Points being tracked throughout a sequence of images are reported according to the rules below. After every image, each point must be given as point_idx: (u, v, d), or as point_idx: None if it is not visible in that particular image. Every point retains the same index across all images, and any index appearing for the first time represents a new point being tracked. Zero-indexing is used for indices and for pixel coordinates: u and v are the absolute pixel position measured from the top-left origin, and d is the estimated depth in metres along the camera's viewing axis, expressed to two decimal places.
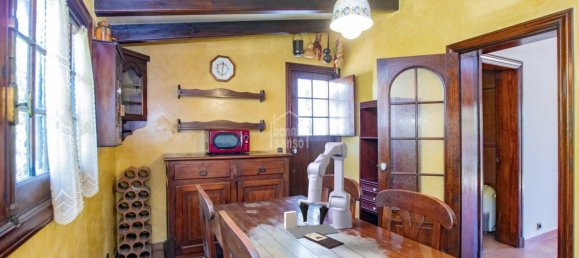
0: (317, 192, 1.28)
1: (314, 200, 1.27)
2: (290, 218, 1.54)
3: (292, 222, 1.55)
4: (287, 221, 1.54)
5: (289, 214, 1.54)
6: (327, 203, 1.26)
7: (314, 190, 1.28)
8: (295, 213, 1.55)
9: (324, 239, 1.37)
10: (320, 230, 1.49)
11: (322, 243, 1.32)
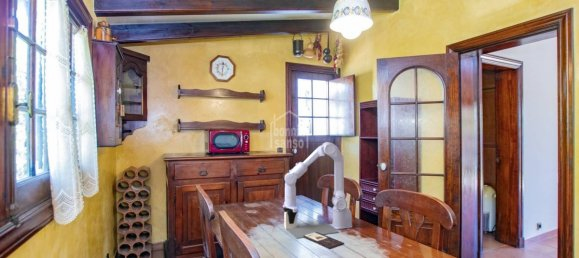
0: (288, 198, 1.53)
1: (286, 205, 1.53)
2: None
3: None
4: (287, 221, 1.54)
5: None
6: (293, 208, 1.49)
7: (286, 196, 1.53)
8: None
9: (324, 239, 1.37)
10: (320, 230, 1.49)
11: (322, 243, 1.32)
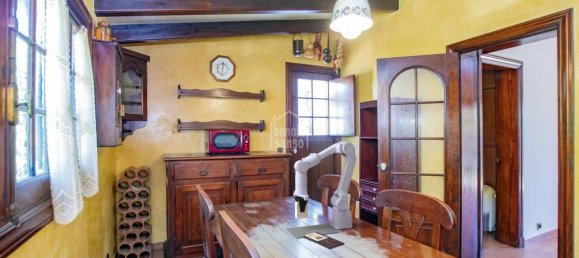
0: (299, 186, 1.49)
1: (297, 193, 1.50)
2: None
3: (303, 212, 1.51)
4: (298, 211, 1.50)
5: None
6: (304, 196, 1.45)
7: (296, 184, 1.50)
8: None
9: (324, 239, 1.37)
10: (320, 230, 1.49)
11: (322, 243, 1.32)
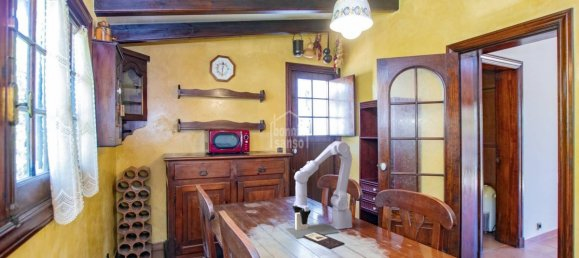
0: (299, 197, 1.49)
1: (297, 203, 1.50)
2: None
3: None
4: (298, 222, 1.50)
5: (300, 215, 1.51)
6: (304, 207, 1.45)
7: (297, 195, 1.50)
8: None
9: (324, 239, 1.37)
10: (320, 230, 1.49)
11: (323, 243, 1.32)
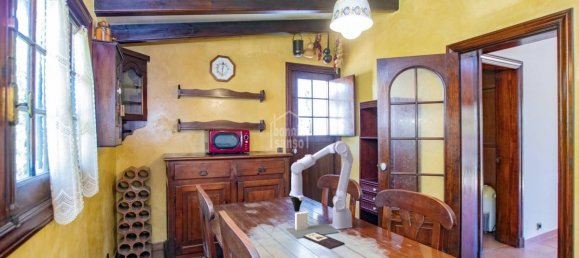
0: (295, 187, 1.55)
1: (293, 193, 1.56)
2: (301, 219, 1.51)
3: (303, 223, 1.51)
4: (298, 222, 1.50)
5: (300, 215, 1.51)
6: (299, 197, 1.51)
7: (292, 185, 1.56)
8: (306, 214, 1.52)
9: (324, 239, 1.37)
10: (320, 230, 1.49)
11: (323, 243, 1.32)
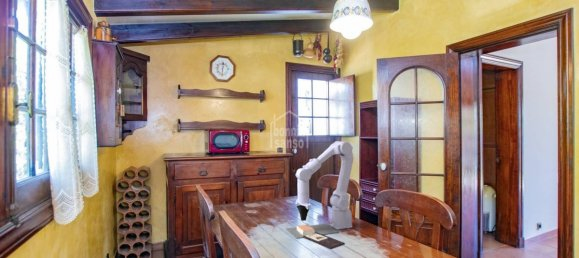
0: (301, 195, 1.47)
1: (299, 201, 1.47)
2: None
3: None
4: None
5: None
6: (306, 205, 1.43)
7: (299, 193, 1.48)
8: None
9: (324, 239, 1.37)
10: (320, 230, 1.49)
11: (323, 243, 1.32)
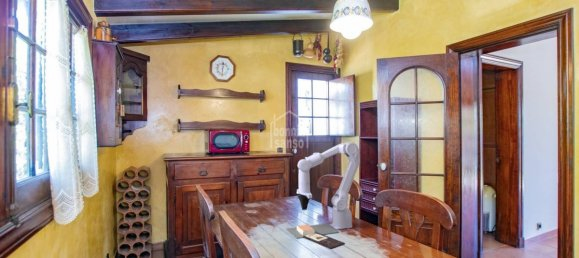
0: (302, 185, 1.52)
1: (300, 191, 1.52)
2: None
3: None
4: None
5: None
6: (307, 194, 1.48)
7: (300, 183, 1.52)
8: None
9: (325, 239, 1.36)
10: (320, 230, 1.49)
11: (323, 243, 1.32)
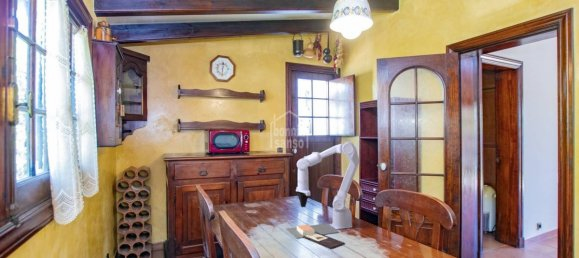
0: (301, 183, 1.57)
1: (299, 189, 1.58)
2: None
3: None
4: None
5: None
6: (306, 192, 1.53)
7: (299, 181, 1.58)
8: None
9: (325, 239, 1.36)
10: (320, 230, 1.49)
11: (323, 243, 1.32)
